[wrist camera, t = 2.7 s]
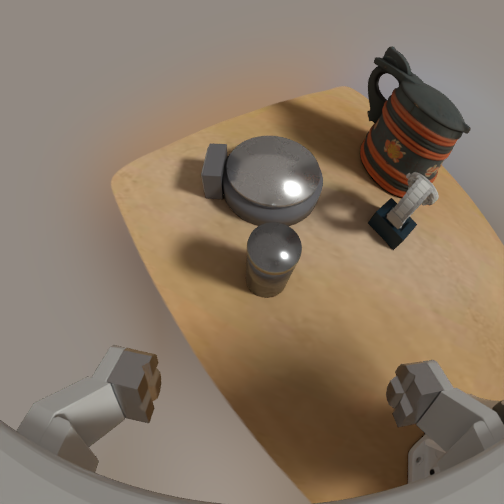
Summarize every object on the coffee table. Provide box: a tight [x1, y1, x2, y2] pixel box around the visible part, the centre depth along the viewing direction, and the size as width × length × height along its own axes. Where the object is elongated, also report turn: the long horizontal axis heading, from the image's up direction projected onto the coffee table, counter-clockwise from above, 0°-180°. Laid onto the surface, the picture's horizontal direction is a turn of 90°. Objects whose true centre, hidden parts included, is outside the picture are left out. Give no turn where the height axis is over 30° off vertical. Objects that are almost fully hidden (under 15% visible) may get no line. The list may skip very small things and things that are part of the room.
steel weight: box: [246, 222, 302, 298], centre depth 29 cm, size 5×5×9 cm
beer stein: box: [360, 47, 470, 198], centre depth 34 cm, size 19×15×20 cm
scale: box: [201, 144, 323, 226], centre depth 37 cm, size 14×16×5 cm
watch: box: [368, 172, 438, 250], centre depth 32 cm, size 6×8×11 cm
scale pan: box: [227, 136, 320, 209], centre depth 36 cm, size 13×13×1 cm
